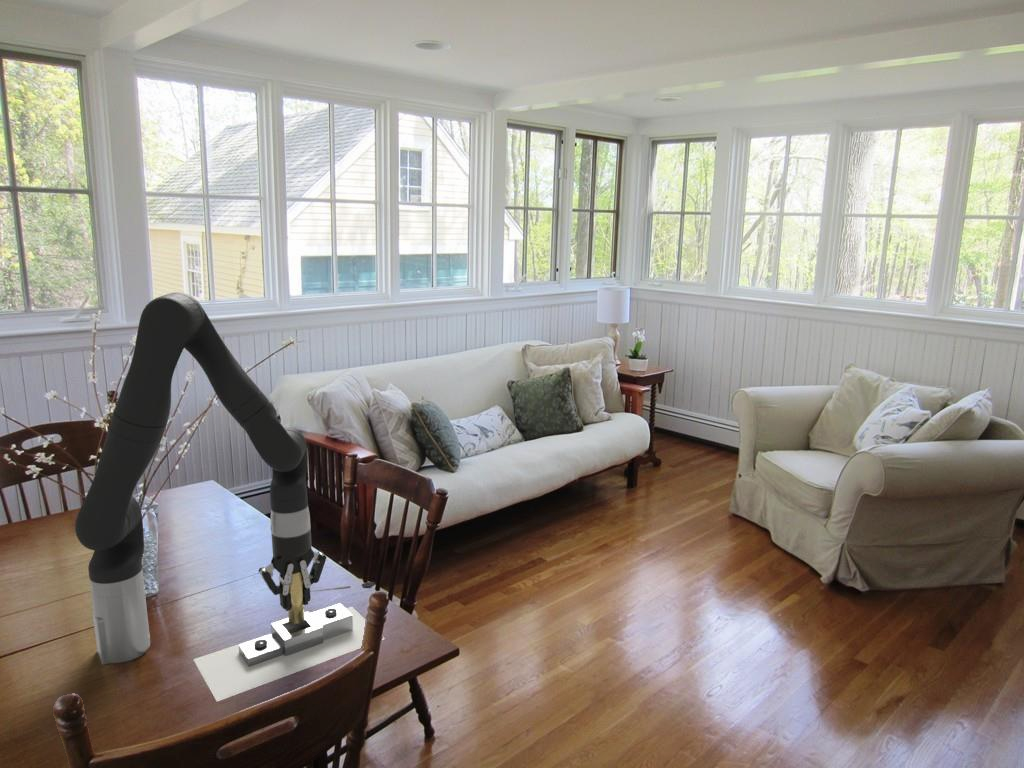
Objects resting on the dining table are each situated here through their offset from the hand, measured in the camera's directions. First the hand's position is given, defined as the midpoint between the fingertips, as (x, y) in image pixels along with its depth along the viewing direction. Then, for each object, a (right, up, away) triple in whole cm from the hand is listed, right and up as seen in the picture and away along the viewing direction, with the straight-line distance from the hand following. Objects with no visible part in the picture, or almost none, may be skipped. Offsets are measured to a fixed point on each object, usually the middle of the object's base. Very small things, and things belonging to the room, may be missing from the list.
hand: (295, 605), depth 149 cm
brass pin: (0, -3, +1) cm, 3 cm away
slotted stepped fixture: (0, -8, +2) cm, 8 cm away
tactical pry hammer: (+2, -5, +22) cm, 22 cm away
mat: (-1, -9, -1) cm, 9 cm away
